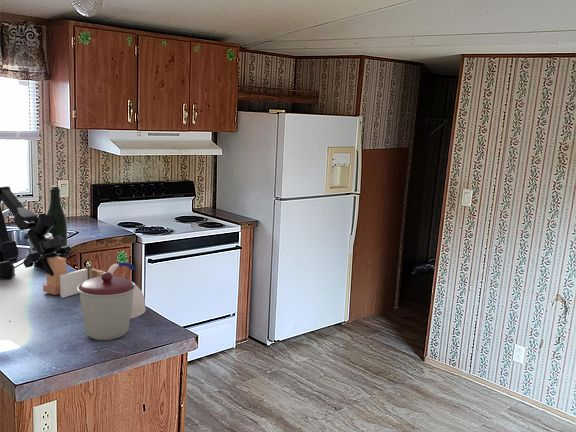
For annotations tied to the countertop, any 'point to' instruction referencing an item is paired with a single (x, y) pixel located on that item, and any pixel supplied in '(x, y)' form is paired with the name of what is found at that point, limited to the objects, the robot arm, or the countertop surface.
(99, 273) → the door frame
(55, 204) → the beer bottle
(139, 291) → the kettle
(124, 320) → the canister
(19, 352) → the countertop surface
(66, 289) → the door
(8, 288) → the countertop surface
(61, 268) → the tan square pedestal
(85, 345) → the countertop surface
